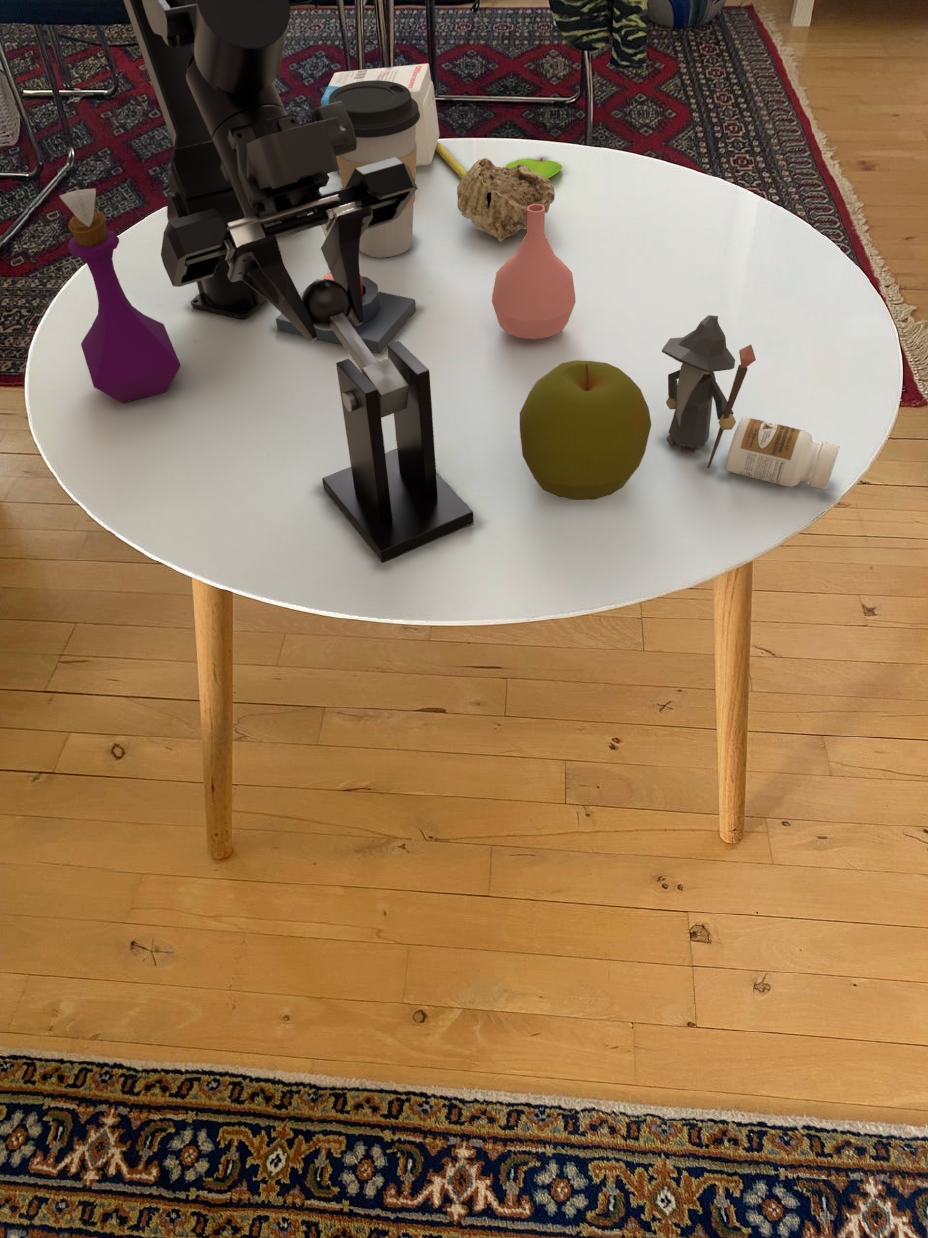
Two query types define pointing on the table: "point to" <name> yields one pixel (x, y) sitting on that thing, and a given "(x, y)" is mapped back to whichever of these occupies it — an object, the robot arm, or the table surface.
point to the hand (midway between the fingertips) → (337, 331)
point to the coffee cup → (381, 150)
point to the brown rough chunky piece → (501, 197)
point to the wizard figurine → (702, 384)
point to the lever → (355, 342)
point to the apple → (584, 430)
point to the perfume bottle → (117, 316)
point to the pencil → (450, 160)
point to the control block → (368, 317)
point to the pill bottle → (780, 454)
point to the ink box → (420, 91)
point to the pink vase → (534, 285)
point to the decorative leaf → (539, 166)
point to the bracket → (393, 465)
